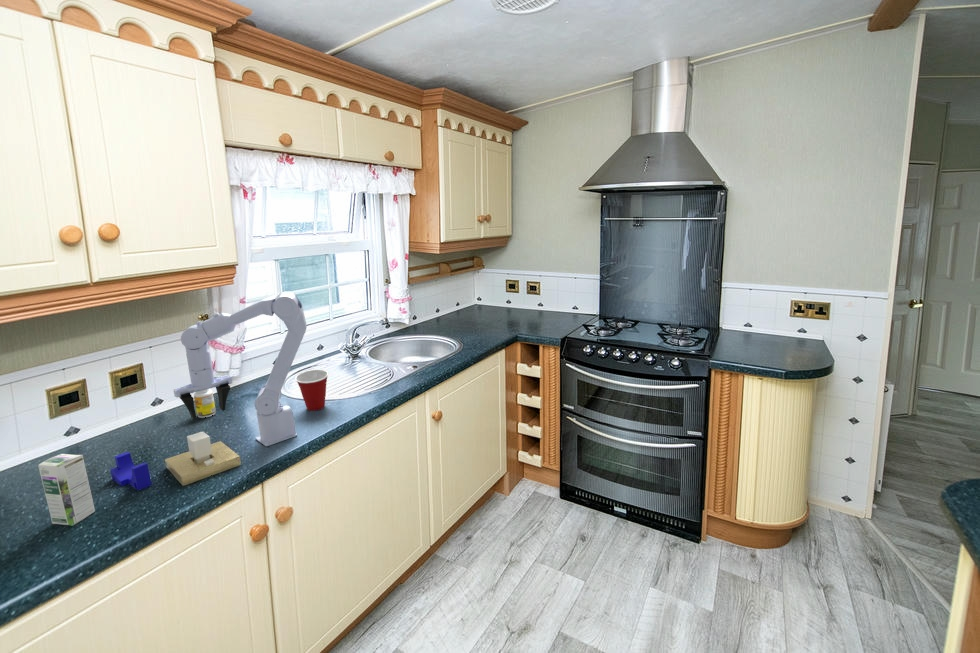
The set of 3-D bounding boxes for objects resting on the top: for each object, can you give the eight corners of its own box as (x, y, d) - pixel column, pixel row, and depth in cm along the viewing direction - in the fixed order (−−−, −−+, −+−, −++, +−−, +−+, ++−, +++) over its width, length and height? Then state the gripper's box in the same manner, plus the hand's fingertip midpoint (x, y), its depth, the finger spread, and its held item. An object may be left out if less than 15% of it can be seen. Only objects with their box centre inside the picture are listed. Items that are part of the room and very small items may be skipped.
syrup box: (51, 524, 114) (35, 465, 110) (76, 509, 119) (62, 452, 116) (72, 526, 113) (57, 466, 109) (97, 511, 118) (83, 453, 115)
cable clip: (112, 480, 132) (107, 458, 131) (132, 472, 136) (127, 451, 134) (131, 493, 125) (126, 471, 124) (151, 485, 129) (147, 463, 128)
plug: (207, 458, 141) (202, 431, 139) (214, 464, 137) (209, 436, 135) (191, 463, 138) (186, 436, 136) (197, 469, 134) (192, 441, 133)
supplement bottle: (196, 414, 173) (190, 386, 170) (214, 410, 176) (209, 382, 174) (199, 419, 169) (193, 390, 166) (217, 415, 172) (212, 386, 170)
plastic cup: (293, 414, 170) (289, 380, 168) (306, 402, 181) (302, 369, 178) (325, 413, 170) (321, 379, 167) (336, 401, 180) (332, 369, 178)
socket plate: (221, 449, 147) (220, 438, 146) (241, 464, 138) (239, 453, 137) (166, 467, 137) (164, 456, 137) (183, 485, 128) (180, 473, 127)
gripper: (222, 359, 151) (229, 402, 154) (167, 371, 141) (175, 418, 144) (232, 363, 146) (239, 408, 149) (174, 377, 136) (183, 424, 139)
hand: (208, 413), depth 146 cm, fingers open, 7 cm apart
